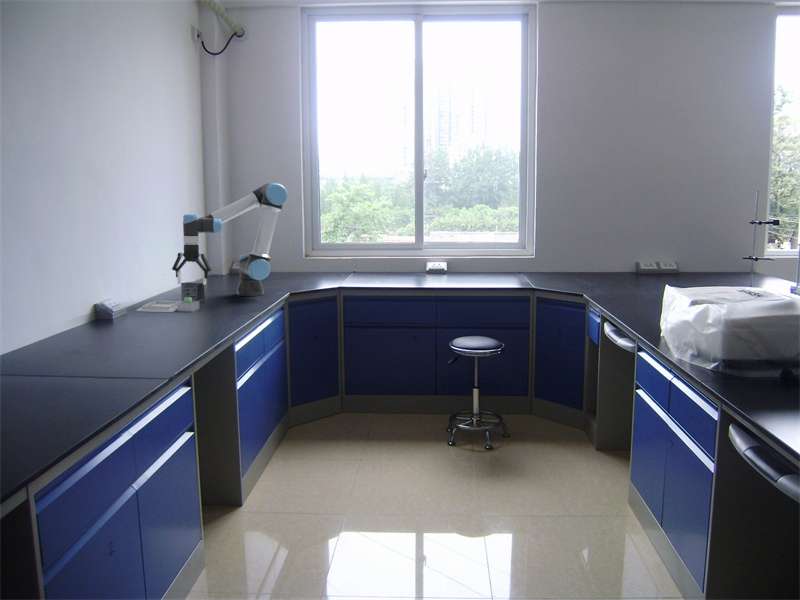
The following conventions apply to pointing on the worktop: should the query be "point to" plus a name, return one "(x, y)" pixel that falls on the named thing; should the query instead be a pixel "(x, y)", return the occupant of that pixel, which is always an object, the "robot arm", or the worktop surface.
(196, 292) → the small box
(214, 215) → the robot arm
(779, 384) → the worktop surface
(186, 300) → the button
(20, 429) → the worktop surface
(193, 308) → the console
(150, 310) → the plate
